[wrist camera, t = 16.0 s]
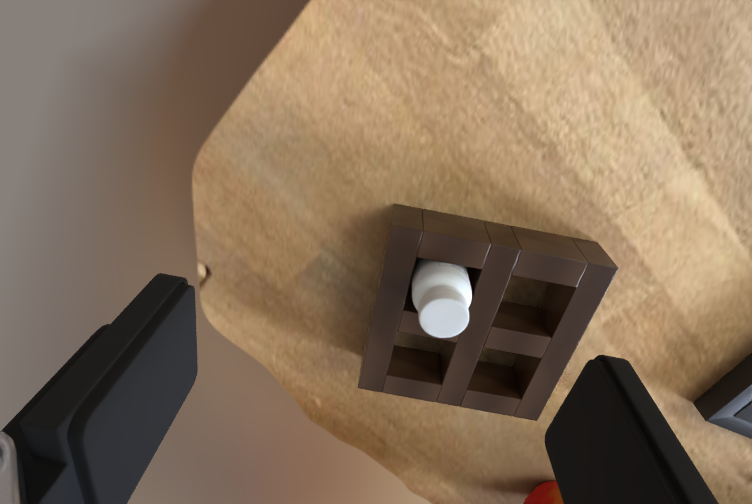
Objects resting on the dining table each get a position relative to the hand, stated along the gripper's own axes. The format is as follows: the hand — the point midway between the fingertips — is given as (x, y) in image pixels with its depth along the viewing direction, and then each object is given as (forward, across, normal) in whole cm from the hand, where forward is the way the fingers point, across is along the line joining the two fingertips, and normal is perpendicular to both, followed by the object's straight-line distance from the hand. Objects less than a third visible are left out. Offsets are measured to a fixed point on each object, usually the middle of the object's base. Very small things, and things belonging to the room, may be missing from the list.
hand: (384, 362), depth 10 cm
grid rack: (+23, -9, +14) cm, 29 cm away
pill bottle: (+24, -6, +10) cm, 26 cm away
